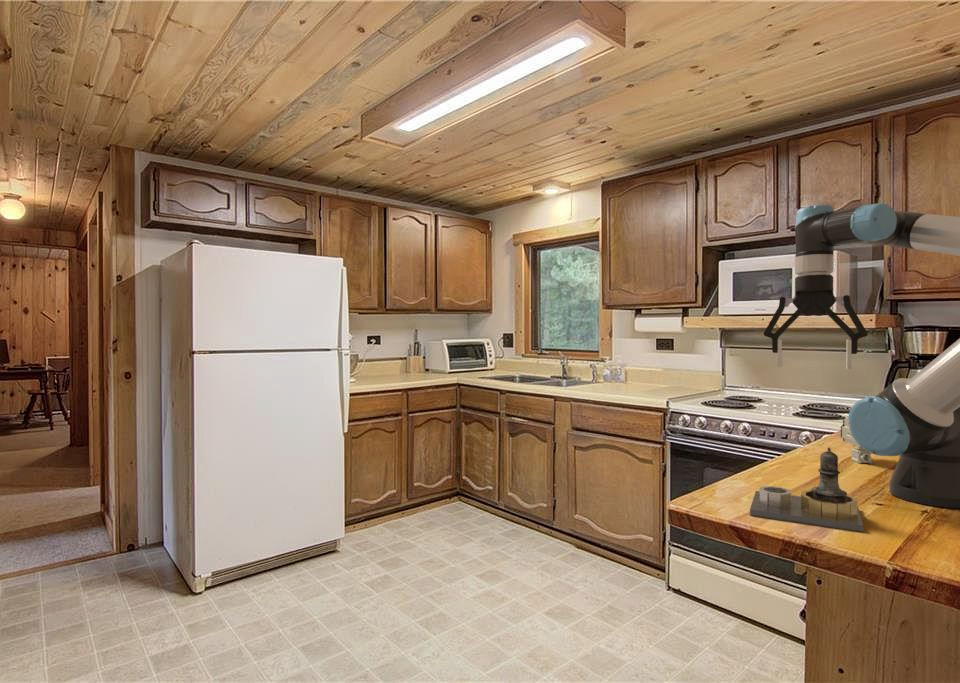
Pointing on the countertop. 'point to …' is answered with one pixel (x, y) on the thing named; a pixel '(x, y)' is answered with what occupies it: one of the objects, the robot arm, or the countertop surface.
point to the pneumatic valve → (857, 454)
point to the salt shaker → (829, 480)
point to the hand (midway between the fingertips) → (813, 368)
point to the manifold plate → (803, 515)
